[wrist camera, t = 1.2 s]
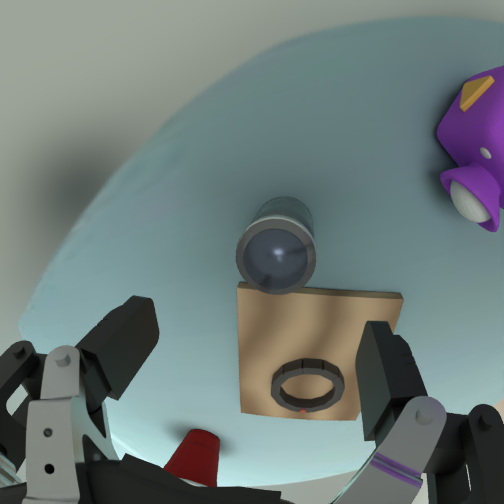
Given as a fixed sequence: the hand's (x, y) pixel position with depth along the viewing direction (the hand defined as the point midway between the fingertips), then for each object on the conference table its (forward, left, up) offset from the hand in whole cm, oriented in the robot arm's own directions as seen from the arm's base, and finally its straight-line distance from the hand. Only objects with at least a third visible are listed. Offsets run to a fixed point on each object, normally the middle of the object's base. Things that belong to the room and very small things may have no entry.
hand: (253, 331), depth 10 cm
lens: (0, 0, -15) cm, 15 cm away
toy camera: (-18, -9, -15) cm, 25 cm away
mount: (-4, +16, -15) cm, 22 cm away
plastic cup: (+11, +39, -15) cm, 43 cm away
